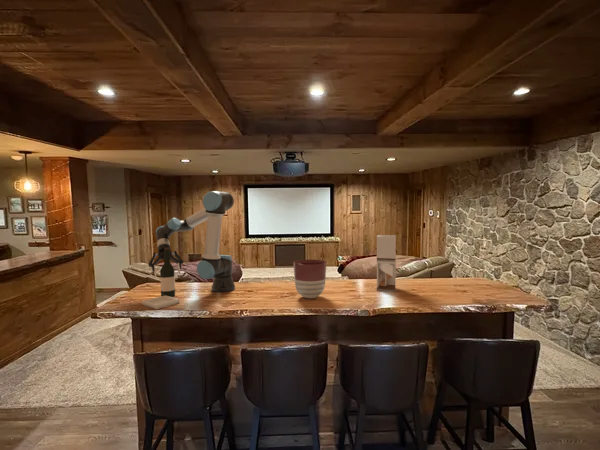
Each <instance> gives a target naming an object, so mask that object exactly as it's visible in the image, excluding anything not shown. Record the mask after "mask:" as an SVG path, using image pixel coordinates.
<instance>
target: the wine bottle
mask: <svg viewBox="0 0 600 450" xmlns="http://www.w3.org/2000/svg"><path fill="white" fill-rule="evenodd" d="M159 272H160V274H159V275H160V276H159V277H160V297H161V296H165V295H166V296H170V297H173V298H176V297H175V296H176V284H175V283H176V282H175V276H176V275H175V267H174V266H173V265H172V264H171V260H170V249H169V248H165V249H164V260H163V265H162V266H161V268H160V269H159Z"/></svg>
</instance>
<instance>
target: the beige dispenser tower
mask: <svg viewBox="0 0 600 450" xmlns="http://www.w3.org/2000/svg"><path fill="white" fill-rule="evenodd" d="M396 237H397V236H396V235H394V234H393V235H392V234H377V235H376V292H377V291H378V292H389V293H390V292H391V293H392V292H393V293H395V292H396V280H397V278H396V275H397V274H396V273H397V271H396V269H397V268H396V265H397V264H396V263H397V262H396V261H397V257H396V256H397V255H396V250H397V248H396V247H397V241H396V239H397V238H396Z"/></svg>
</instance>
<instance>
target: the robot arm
mask: <svg viewBox="0 0 600 450" xmlns="http://www.w3.org/2000/svg"><path fill="white" fill-rule="evenodd" d="M234 203H235V199H234V196H233V195H232V194H231V193H229V192H227V191H217V190H213V191H212V190H211V191H208V192H206V194H205V195H204V196H203V198H202V206H203V208H202V209H200V210H199V211H196V212H195V213H193V214H192V215H190V216H188V217H187V218H185V219H181V220H180V219H179V218H177V217H172V218H171V219H169V220H168V221H167V222H166V223H165V224H164V225H160V226H158V227H156V229H155V236H156V246H157V253H156V252H153V253H152V257H151V259H150V260H149V262H148V267H149V268H151V271H152V272H153V273H154V277H157V265H158V264H159V262H161V261H162V260H163V261H164V249H165V248H169V249H170V261H172V262H174V263H175V264H177V265H176V266H177V272H178V275H180V274H181V269H182V265H183V264H184V259H182V258H181V256H180V255H179V254H178V253H177V251H176V250H174V251H173V252H172V249H171V242H170V237H172V235H173V234H174V233H179V232H189V231H192V230H193V229H194V228H195V227H196V226H198V225H200V224H202V223H204V222H205V221H207V222H206V232H205V241H204V243H205V244H204V245H205V246H204V254H202V255H201V260H200V261H199V262H198V263H197V265H196V271H197V274H198V275H199V277H200V278H201V279H204V280H209V279H213V281H212V284H211V291H212V292H216V293H225V292H227V293H228V292H231V291H234V290H236V284H235V281H234V279H233V259H232V255H229V254H228V255H227V254H220V253H219V252H220V245H221V243H220V242H221V234H222V232H221V231H222V223H223V222H222V221H223V216H225V215H226V212H227V211H229V210H230V209H232V208H233V206H234ZM156 257H157V258H156ZM155 259H156V260H155Z"/></svg>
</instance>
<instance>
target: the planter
mask: <svg viewBox="0 0 600 450" xmlns="http://www.w3.org/2000/svg"><path fill="white" fill-rule="evenodd" d="M326 272H327V261H325V260H324V259H323V260H321V259H300V260H299V259H298V260H294V261H293V274H294V275H293V276H294V277H293V278H294V286H295V289H296V291H297V293H298V294H299V295H300V296H301V297H303V298H304V299H310V300H311V299H315V298H317V297H319V296H321V294H322V293H323V292H324V291H325V286H326V275H327V273H326Z"/></svg>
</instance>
